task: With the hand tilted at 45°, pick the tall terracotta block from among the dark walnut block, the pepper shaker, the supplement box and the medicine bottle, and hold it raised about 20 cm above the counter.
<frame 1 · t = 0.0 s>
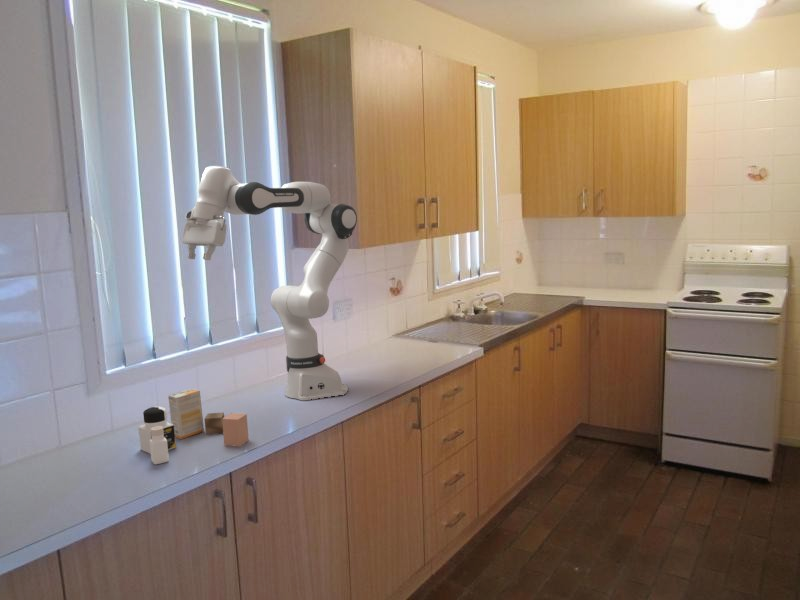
hand: (198, 259, 202), 52 cm above the worktop, tool tilted 20°, fingers open, 8 cm apart
pepper shaker: (160, 462, 177), on the worktop
walnut block: (215, 431, 200), on the worktop
medicine bottle: (158, 449, 187), on the worktop
terracotta block: (236, 443, 189), on the worktop
supplement box: (188, 434, 198), on the worktop
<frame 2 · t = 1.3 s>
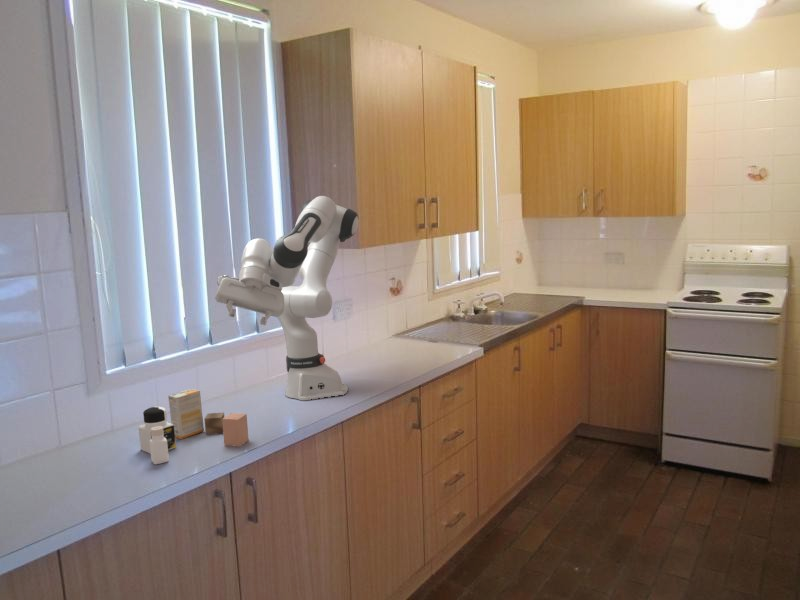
hand: (247, 319, 190), 35 cm above the worktop, tool tilted 45°, fingers open, 8 cm apart
nothing on the worktop moved.
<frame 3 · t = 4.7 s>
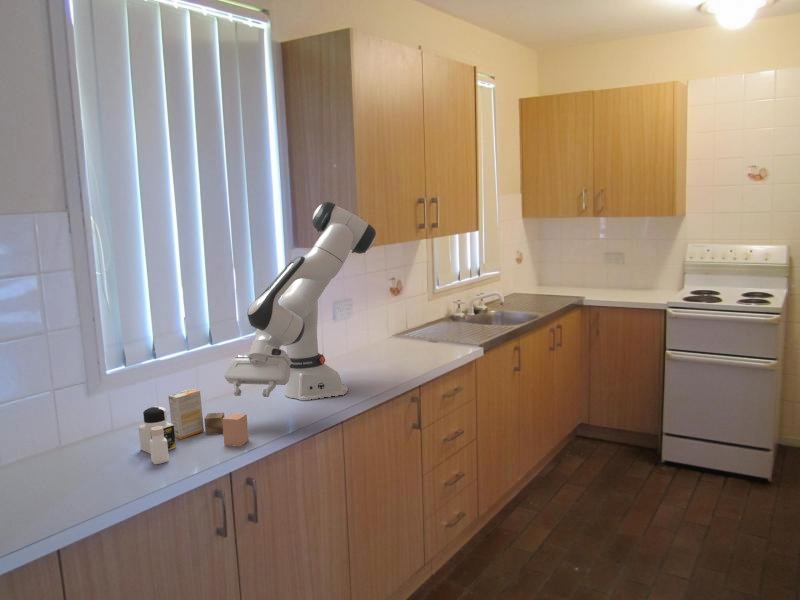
hand: (251, 395, 196), 11 cm above the worktop, tool tilted 45°, fingers open, 8 cm apart
nothing on the worktop moved.
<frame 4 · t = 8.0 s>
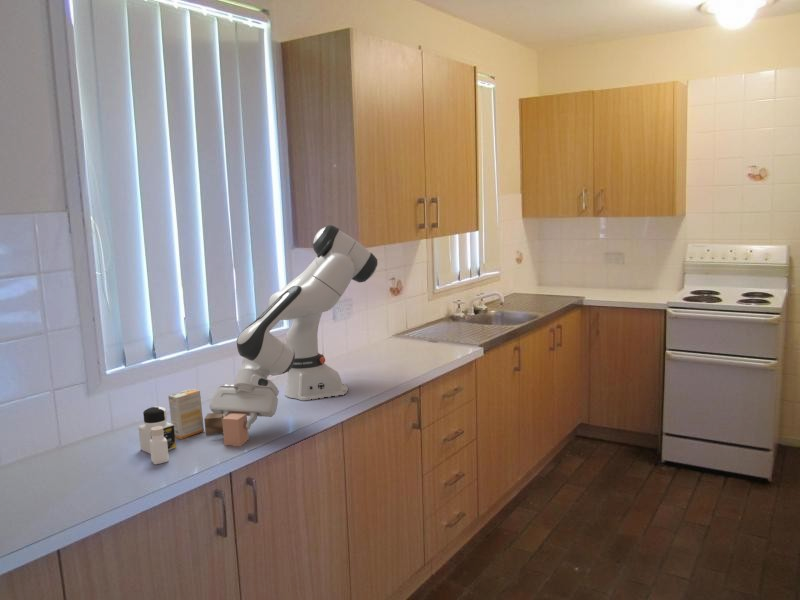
hand: (236, 427, 188), 4 cm above the worktop, tool tilted 45°, fingers closed on terracotta block, 5 cm apart
terracotta block: (236, 442, 189), on the worktop, touching gripper
everything else where it was.
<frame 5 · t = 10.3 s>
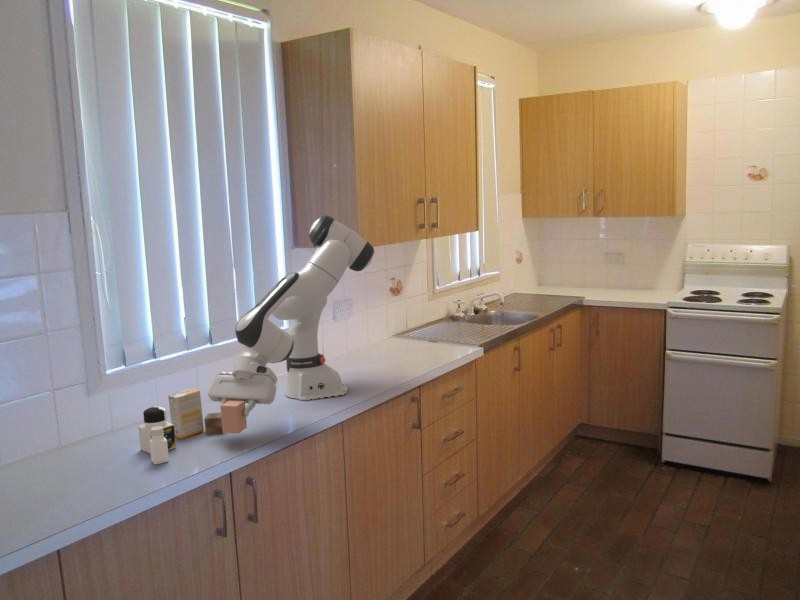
hand: (234, 415, 188), 8 cm above the worktop, tool tilted 45°, fingers closed on terracotta block, 5 cm apart
terracotta block: (234, 430, 188), point 4 cm above the worktop, touching gripper
everything else where it was.
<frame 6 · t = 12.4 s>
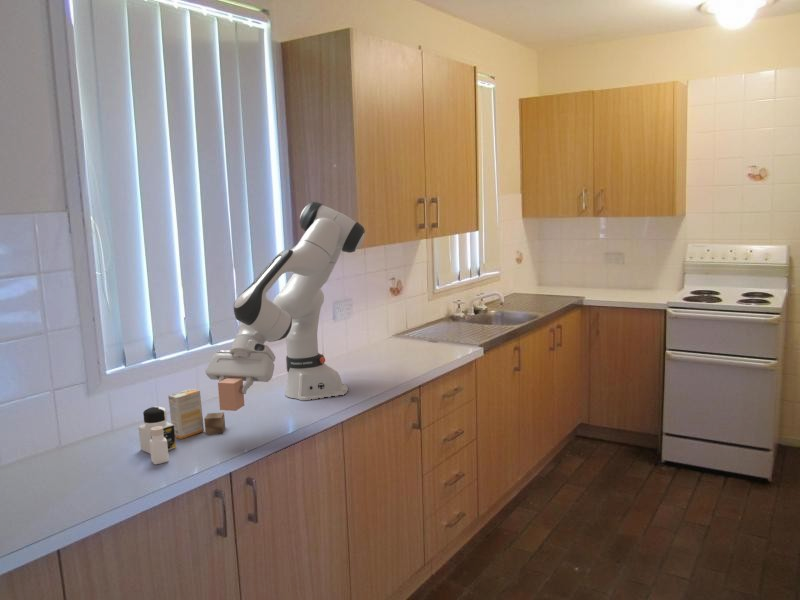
hand: (231, 392, 187), 15 cm above the worktop, tool tilted 45°, fingers closed on terracotta block, 5 cm apart
terracotta block: (232, 407, 187), point 11 cm above the worktop, touching gripper
everything else where it was.
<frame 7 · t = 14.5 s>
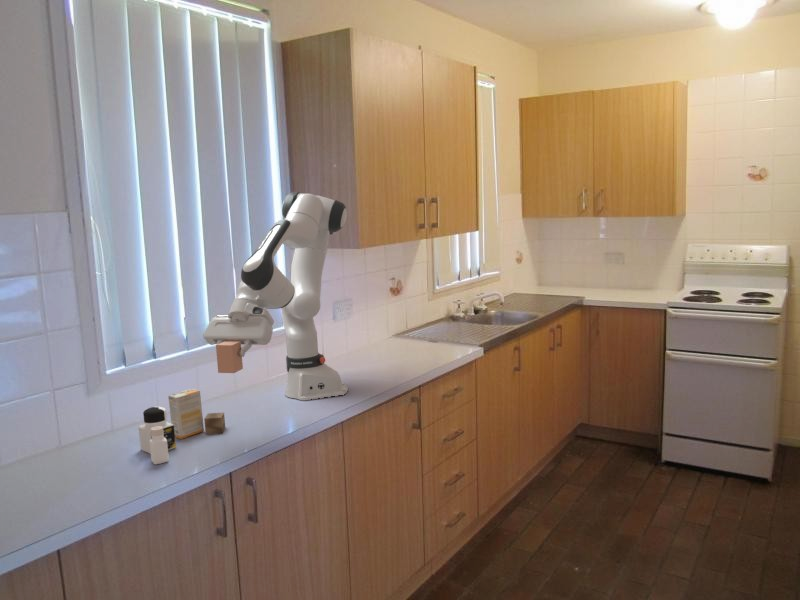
hand: (230, 355, 185), 26 cm above the worktop, tool tilted 45°, fingers closed on terracotta block, 5 cm apart
terracotta block: (230, 370, 185), point 21 cm above the worktop, touching gripper
everything else where it was.
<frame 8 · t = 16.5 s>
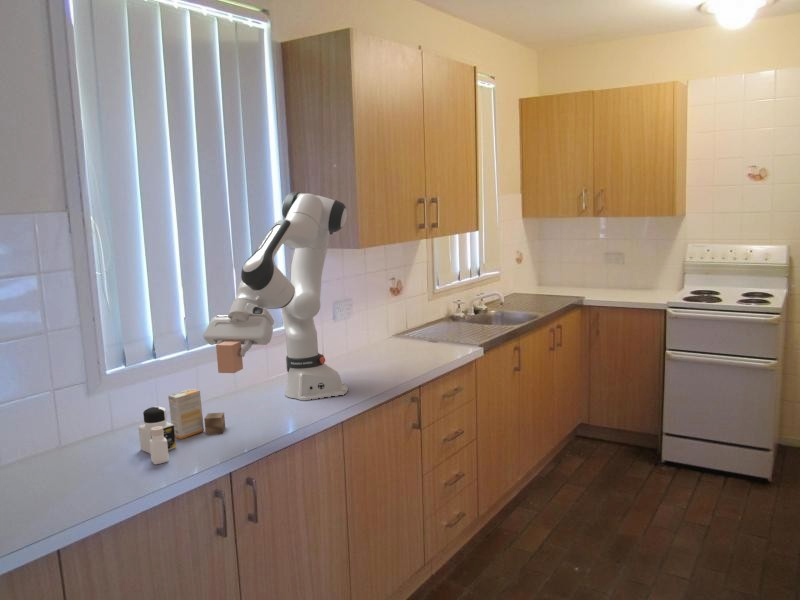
hand: (230, 355, 185), 26 cm above the worktop, tool tilted 45°, fingers closed on terracotta block, 5 cm apart
terracotta block: (230, 370, 185), point 21 cm above the worktop, touching gripper
everything else where it was.
at the end: the gripper is holding terracotta block; terracotta block point 21.5 cm above the worktop; walnut block moved 0.1 cm from its start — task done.
